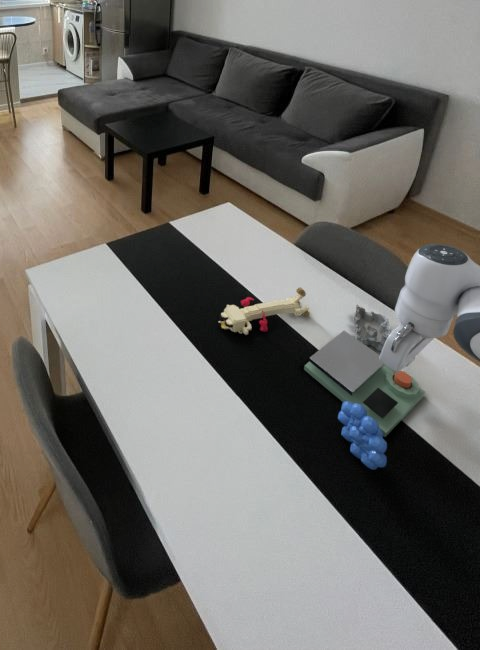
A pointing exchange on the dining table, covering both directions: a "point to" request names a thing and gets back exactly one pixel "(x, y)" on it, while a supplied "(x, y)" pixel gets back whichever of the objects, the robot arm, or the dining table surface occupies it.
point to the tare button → (403, 379)
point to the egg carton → (371, 328)
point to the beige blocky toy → (260, 312)
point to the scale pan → (353, 369)
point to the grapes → (363, 435)
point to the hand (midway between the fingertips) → (406, 361)
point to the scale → (379, 380)
